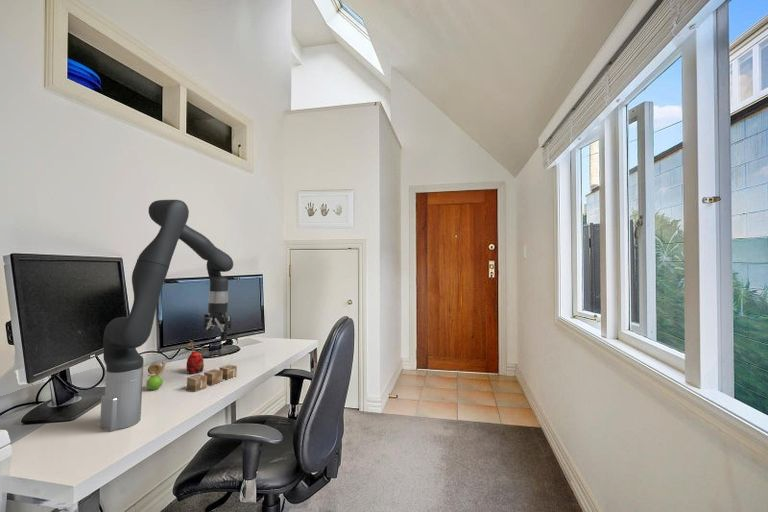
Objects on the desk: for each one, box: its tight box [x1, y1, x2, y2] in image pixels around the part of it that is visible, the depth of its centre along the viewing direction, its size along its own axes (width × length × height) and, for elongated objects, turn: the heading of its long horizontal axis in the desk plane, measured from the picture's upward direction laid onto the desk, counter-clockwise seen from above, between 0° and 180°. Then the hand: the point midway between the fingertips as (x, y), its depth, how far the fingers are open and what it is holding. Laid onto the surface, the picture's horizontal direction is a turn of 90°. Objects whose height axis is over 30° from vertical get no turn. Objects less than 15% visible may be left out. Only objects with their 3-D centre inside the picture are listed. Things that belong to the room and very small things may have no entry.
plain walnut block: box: [203, 368, 223, 387], centre depth 138 cm, size 5×5×5 cm
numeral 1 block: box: [186, 373, 208, 393], centre depth 132 cm, size 5×5×5 cm
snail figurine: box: [145, 357, 167, 391], centre depth 131 cm, size 5×6×12 cm
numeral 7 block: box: [218, 364, 238, 381], centre depth 145 cm, size 5×5×5 cm
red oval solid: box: [185, 339, 205, 375], centre depth 152 cm, size 8×7×15 cm
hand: (216, 339), depth 139 cm, fingers open, 8 cm apart
